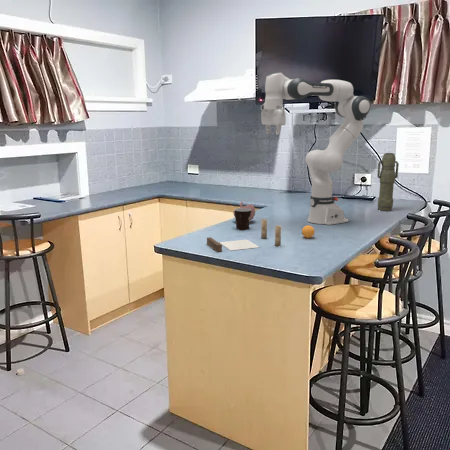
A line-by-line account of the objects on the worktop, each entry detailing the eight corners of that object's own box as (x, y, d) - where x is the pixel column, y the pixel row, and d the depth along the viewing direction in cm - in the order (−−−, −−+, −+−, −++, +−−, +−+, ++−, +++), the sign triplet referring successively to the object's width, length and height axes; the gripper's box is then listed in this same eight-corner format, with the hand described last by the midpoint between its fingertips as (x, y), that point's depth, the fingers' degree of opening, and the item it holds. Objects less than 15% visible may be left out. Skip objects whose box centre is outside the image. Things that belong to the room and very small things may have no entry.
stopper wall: (210, 243, 214) (210, 237, 213) (221, 251, 201) (221, 244, 201) (206, 244, 213) (206, 237, 213) (217, 252, 201) (217, 245, 200)
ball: (310, 235, 228) (310, 223, 227) (316, 238, 223) (317, 226, 221) (299, 236, 226) (299, 224, 225) (305, 239, 221) (306, 227, 219)
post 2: (278, 244, 213) (279, 225, 210) (281, 245, 210) (282, 226, 208) (273, 245, 212) (274, 225, 210) (276, 246, 209) (277, 227, 207)
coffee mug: (241, 225, 249) (241, 207, 246) (254, 228, 243) (254, 209, 241) (227, 229, 240) (227, 210, 238) (240, 232, 235) (240, 212, 232)
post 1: (265, 237, 225) (265, 219, 223) (267, 238, 223) (268, 220, 221) (260, 237, 224) (260, 219, 222) (262, 238, 222) (263, 220, 220)
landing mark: (246, 239, 220) (246, 239, 220) (259, 247, 208) (259, 247, 208) (219, 242, 215) (219, 242, 215) (230, 250, 203) (230, 250, 203)
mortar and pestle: (242, 218, 265) (242, 199, 263) (259, 221, 258) (259, 201, 255) (228, 222, 256) (228, 202, 254) (246, 225, 249) (246, 204, 246)
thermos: (397, 211, 286) (402, 153, 278) (378, 211, 285) (382, 153, 277) (391, 208, 295) (395, 152, 287) (373, 208, 294) (377, 152, 286)
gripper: (289, 105, 225) (288, 135, 228) (270, 106, 244) (269, 133, 247) (277, 105, 223) (277, 135, 226) (259, 106, 242) (258, 133, 245)
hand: (273, 134), depth 237 cm, fingers open, 8 cm apart
